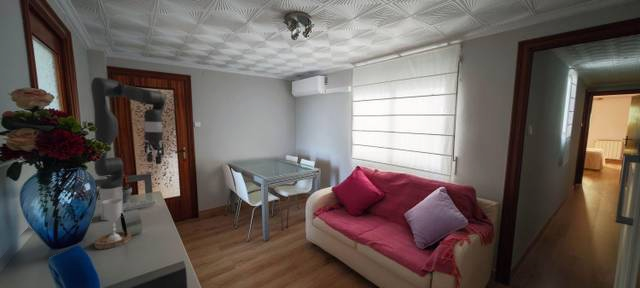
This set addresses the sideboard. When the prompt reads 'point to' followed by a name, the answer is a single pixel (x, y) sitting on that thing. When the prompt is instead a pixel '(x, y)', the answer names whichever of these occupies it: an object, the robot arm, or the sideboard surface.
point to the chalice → (113, 215)
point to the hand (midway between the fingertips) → (154, 162)
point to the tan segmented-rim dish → (102, 242)
